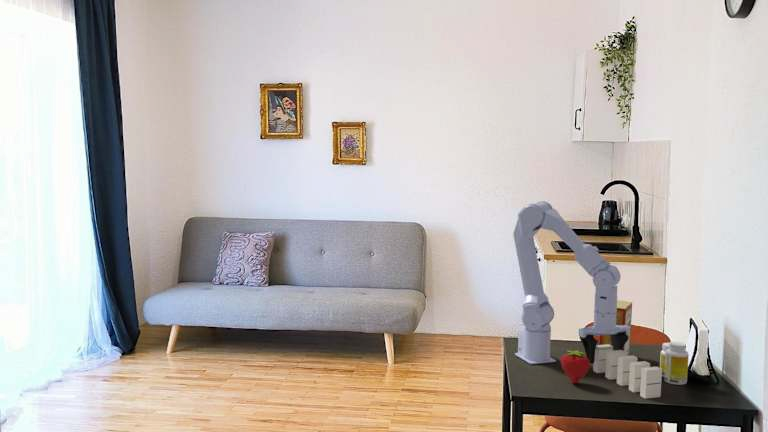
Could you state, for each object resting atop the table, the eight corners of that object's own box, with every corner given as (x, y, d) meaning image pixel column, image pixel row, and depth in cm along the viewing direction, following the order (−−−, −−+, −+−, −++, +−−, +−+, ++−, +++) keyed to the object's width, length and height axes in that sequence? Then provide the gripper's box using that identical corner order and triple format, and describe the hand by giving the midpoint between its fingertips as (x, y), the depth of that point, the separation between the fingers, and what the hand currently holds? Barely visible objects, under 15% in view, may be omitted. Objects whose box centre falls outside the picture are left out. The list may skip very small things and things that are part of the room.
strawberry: (583, 389, 192) (585, 350, 191) (555, 383, 197) (557, 344, 196) (593, 383, 197) (595, 345, 196) (565, 377, 201) (567, 339, 200)
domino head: (593, 370, 207) (594, 345, 206) (607, 369, 209) (608, 344, 208) (597, 373, 205) (598, 347, 204) (611, 371, 207) (613, 346, 206)
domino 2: (616, 383, 197) (618, 356, 197) (631, 381, 199) (632, 355, 198) (621, 385, 195) (622, 359, 195) (636, 384, 197) (637, 357, 196)
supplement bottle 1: (679, 379, 201) (681, 347, 200) (660, 377, 202) (662, 346, 201) (676, 373, 206) (678, 342, 205) (658, 371, 207) (659, 341, 206)
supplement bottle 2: (691, 384, 198) (694, 345, 196) (675, 387, 195) (678, 347, 194) (674, 377, 203) (677, 339, 201) (659, 380, 200) (661, 341, 199)
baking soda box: (606, 352, 224) (608, 298, 222) (629, 355, 221) (632, 301, 219) (598, 361, 216) (601, 304, 214) (622, 364, 213) (625, 307, 211)
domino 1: (605, 377, 202) (606, 351, 201) (619, 375, 203) (620, 349, 203) (609, 379, 200) (610, 353, 199) (624, 378, 202) (625, 352, 201)
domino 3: (628, 389, 193) (630, 362, 192) (643, 388, 194) (645, 361, 193) (633, 392, 191) (635, 364, 190) (648, 390, 192) (650, 363, 191)
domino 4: (640, 395, 188) (641, 368, 188) (655, 394, 190) (656, 366, 189) (645, 398, 187) (646, 370, 186) (660, 396, 188) (662, 368, 187)
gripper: (590, 316, 199) (587, 368, 201) (637, 313, 204) (635, 363, 205) (575, 310, 206) (573, 360, 207) (621, 307, 210) (619, 355, 212)
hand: (602, 361), depth 207 cm, fingers open, 7 cm apart
